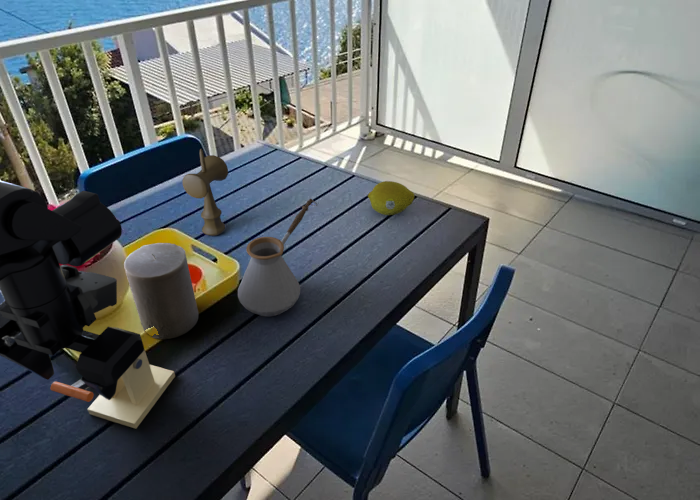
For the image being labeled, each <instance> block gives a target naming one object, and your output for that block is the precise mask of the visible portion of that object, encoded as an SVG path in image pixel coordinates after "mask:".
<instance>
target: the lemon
mask: <svg viewBox="0 0 700 500" xmlns="http://www.w3.org/2000/svg"><path fill="white" fill-rule="evenodd" d="M367 198H368V199H369V202H370V206H371V207H372V209H373V210H374V211H375V212H377V213H378V214H381V215H383V216H395V215H398V214H401V213H402V212H403V211H405V210H406V209H407V208H408V207H410V206H411V205H412V204H413V202H414V201H415V200H414V199H415V193H414V192H413V191H412V190H410V188H408V187H407V186H406V185H404V184H402V183H399V182H397V181H391V180H385V181H381V182H379V183H377V184H375V186H374V187H373V188H372V190H371V191H370V192H369V193H368V194H367Z"/></svg>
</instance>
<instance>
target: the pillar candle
mask: <svg viewBox="0 0 700 500" xmlns="http://www.w3.org/2000/svg"><path fill="white" fill-rule="evenodd" d="M123 266H124V272H125V275H126V278H127V281H128V285H129V287H130V292H131V294H132V298H133V301H134V304H135V305H134V306H135V308H136V311H137V314H138V317H139V321H140V325H141V327H142V329H143V331H144V332H145V330H146V329H148V328H151V327H153V326H154V327H155V328H156V329H157V331H158V334H159V335H156V334H154V335H153V336H152V337H151V338H152V339H153V338H154V339H158V340H170V339H175V338H179V337H180V336H183V335H185V334H186V333H188V332H189V331H191V330H192V329H193V328H194V327H195V326H196V325H197V323H198V320H199V309H198V304H197V300H196V295H195V291H194V287H193V282H192V278H191V273H190V272H191V271H190V269H189V264H188V258H187V254H186V250H185V249H184V248H183V247H182V246H180V245H177V244H175V243H170V242H157V243H151V244H144V245H142V246H140V248H139V247H138V248H137V249H135V250H133V251H132V252H131V253H129V255H128V256H127V257H126V258H125V260H124V263H123Z"/></svg>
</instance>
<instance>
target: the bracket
mask: <svg viewBox="0 0 700 500" xmlns="http://www.w3.org/2000/svg"><path fill="white" fill-rule="evenodd" d="M175 378H176V373H175V371H174V370H171V369H167V368H163V367H160V366H158V365H157V366H156V365H153V364H150V362H149V359H148V356H147V352H146V349H145V348H144V351H143V352H142V354H141V355H140V356H139V357H138V358H137V359H136V360H135V361H134V363H133V364H132V365H131V366H130V367H129V368H128V369H127V370H126V372H125V373H124V374H123V375H122V376H121V377H120V378H119V380H118V382H117V388H116V393H115V395H114V396H113V397H112V398H111V399H110V400H108V399H106V398H104V397H103V396H101V395H100V394H99V395H98V396H97V397H96V398H95V400H94V401H93V402H92V403H91V404H90V405H89V407H88V408H87V412H88V414H89V415H91V416H94V417H97V418H101V419H103V420H107V421H110V422H113V423H115V424H120V425H122V426H126V427H128V428H129V427H130V428H133V429H134V430H135V429H136V430H137V429H138V427H139V426H140V425H141V423H142V422H143V421H144V419H145V418H146V416H147V415H148V414H149V412H150V411H151V410H152V408H153V407H154V406H155V404H156V403H157V401H158V400H159V399H160V398H161V396H162V395H163V394H164V392H165V391H166V389H167V388H168V387H169V386H170V384H171V383H172V382H173V380H174V379H175Z"/></svg>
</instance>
